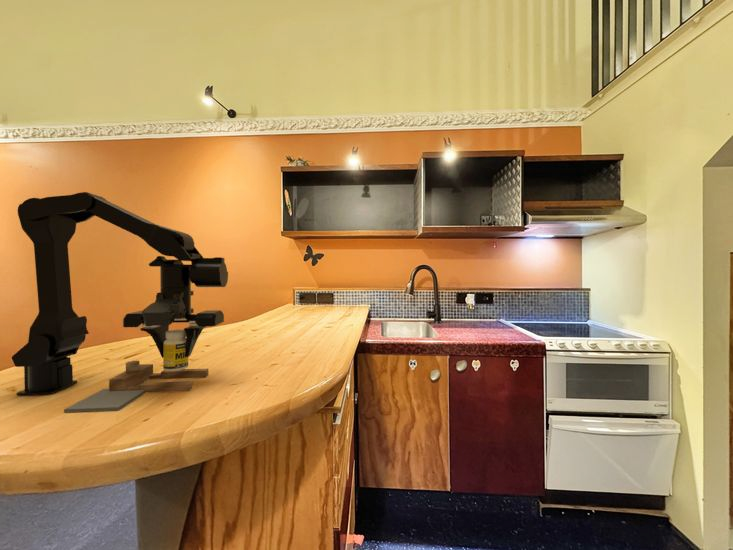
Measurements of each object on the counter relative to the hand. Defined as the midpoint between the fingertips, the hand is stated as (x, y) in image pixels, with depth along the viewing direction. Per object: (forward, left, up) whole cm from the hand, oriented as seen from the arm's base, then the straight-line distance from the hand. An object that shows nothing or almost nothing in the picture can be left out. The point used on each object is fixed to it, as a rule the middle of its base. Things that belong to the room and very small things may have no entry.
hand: (176, 356), depth 66 cm
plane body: (-3, 0, -6) cm, 7 cm away
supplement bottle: (0, 0, -3) cm, 3 cm away
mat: (-8, -8, -6) cm, 13 cm away
